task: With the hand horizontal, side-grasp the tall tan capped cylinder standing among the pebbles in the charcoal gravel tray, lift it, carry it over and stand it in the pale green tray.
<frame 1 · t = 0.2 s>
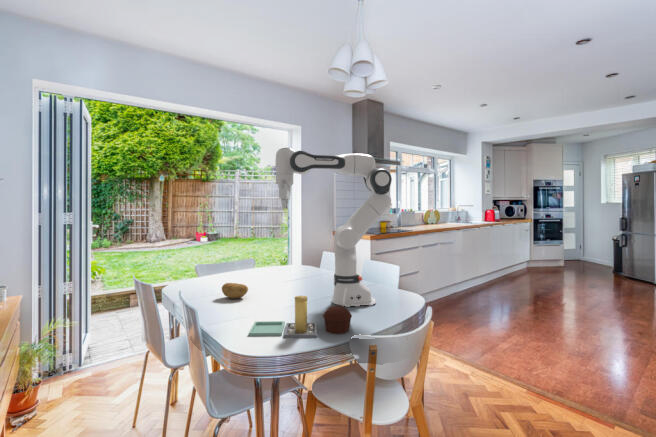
hand: (284, 208, 162), 48 cm above the table, tool pointing down, fingers open, 8 cm apart
tan capped cylinder: (301, 331, 124), point 1 cm above the table, touching gravel tray
muffin: (337, 332, 125), on the table
potato: (235, 298, 171), on the table
gravel tray: (301, 333, 124), on the table
green tray: (267, 331, 125), on the table
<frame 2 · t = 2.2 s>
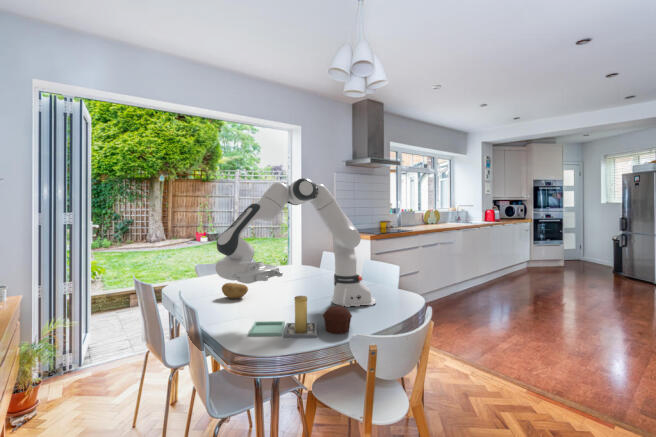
hand: (274, 276, 129), 21 cm above the table, tool horizontal, fingers open, 8 cm apart
nothing on the table moved.
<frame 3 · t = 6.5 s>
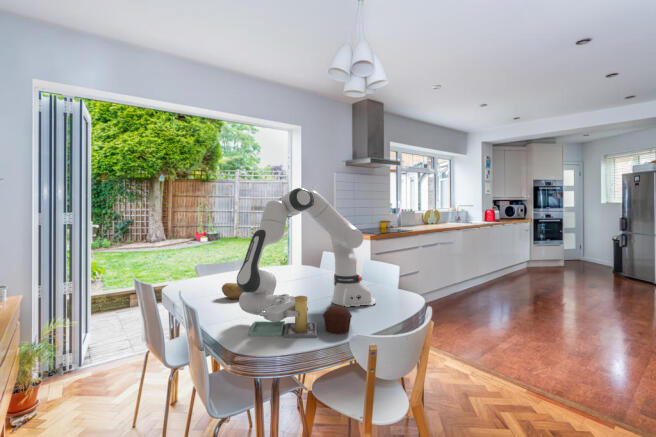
hand: (303, 312, 123), 9 cm above the table, tool horizontal, fingers closed on tan capped cylinder, 5 cm apart
tan capped cylinder: (301, 331, 124), point 1 cm above the table, touching gravel tray, gripper
everything else where it was.
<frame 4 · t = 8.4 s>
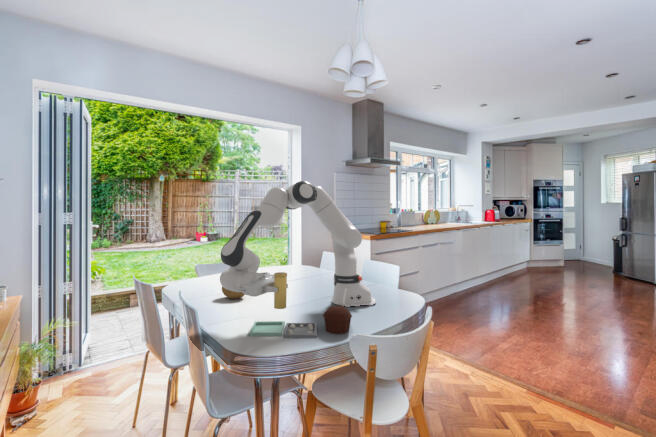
hand: (282, 288, 123), 18 cm above the table, tool horizontal, fingers closed on tan capped cylinder, 5 cm apart
tan capped cylinder: (280, 307, 124), point 10 cm above the table, touching gripper
everything else where it was.
when the fingers open (10 cm above the table, at t = 10.5 s): tan capped cylinder drops 1 cm, resting on green tray.
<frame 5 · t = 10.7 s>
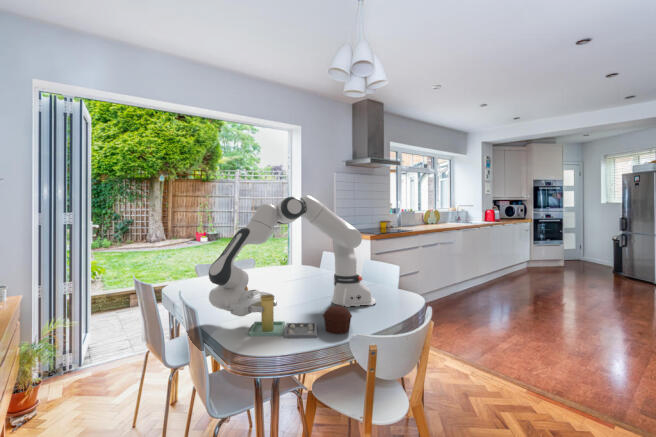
hand: (269, 306, 125), 10 cm above the table, tool horizontal, fingers open, 7 cm apart
tan capped cylinder: (267, 329, 125), point 1 cm above the table, touching green tray
everything else where it was.
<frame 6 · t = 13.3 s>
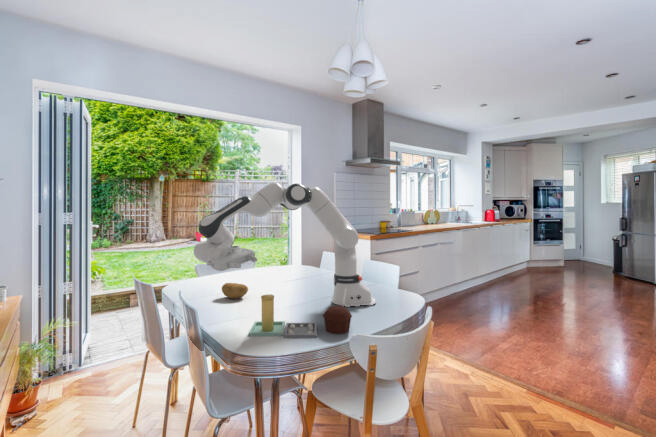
hand: (248, 263, 133), 25 cm above the table, tool horizontal, fingers open, 8 cm apart
nothing on the table moved.
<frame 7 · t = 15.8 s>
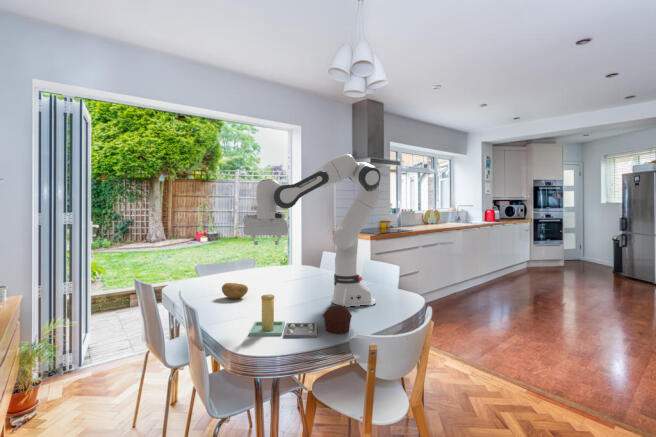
hand: (266, 244, 148), 31 cm above the table, tool pointing down, fingers open, 8 cm apart
nothing on the table moved.
at the end: tan capped cylinder inside the target area on the green tray (0.0 cm from its centre), point 1.0 cm above the green tray's base; tan capped cylinder tilted 0°; the gripper is holding nothing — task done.
